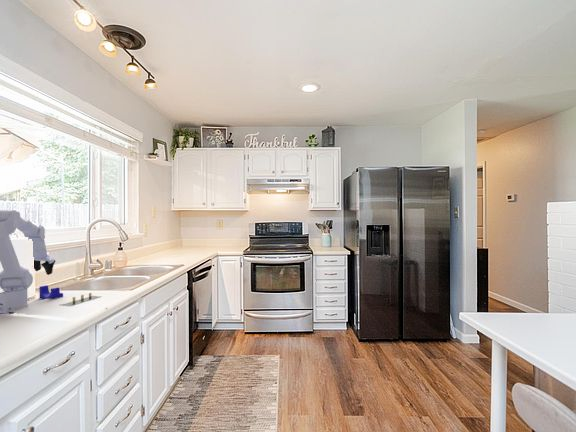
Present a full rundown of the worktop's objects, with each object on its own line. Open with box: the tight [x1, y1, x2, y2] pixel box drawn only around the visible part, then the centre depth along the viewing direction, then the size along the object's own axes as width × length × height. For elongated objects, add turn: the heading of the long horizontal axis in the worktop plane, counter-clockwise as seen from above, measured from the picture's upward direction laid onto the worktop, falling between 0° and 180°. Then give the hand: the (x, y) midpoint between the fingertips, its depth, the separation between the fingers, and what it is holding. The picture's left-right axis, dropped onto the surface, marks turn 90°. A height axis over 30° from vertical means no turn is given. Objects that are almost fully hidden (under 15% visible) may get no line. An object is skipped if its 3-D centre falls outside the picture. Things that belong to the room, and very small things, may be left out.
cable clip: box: [38, 284, 64, 300], centre depth 149 cm, size 12×4×6 cm, turn 63°
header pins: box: [72, 292, 92, 303], centre depth 140 cm, size 9×1×3 cm, turn 164°
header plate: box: [59, 295, 102, 307], centre depth 140 cm, size 16×7×1 cm, turn 164°
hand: (44, 272), depth 154 cm, fingers open, 7 cm apart
